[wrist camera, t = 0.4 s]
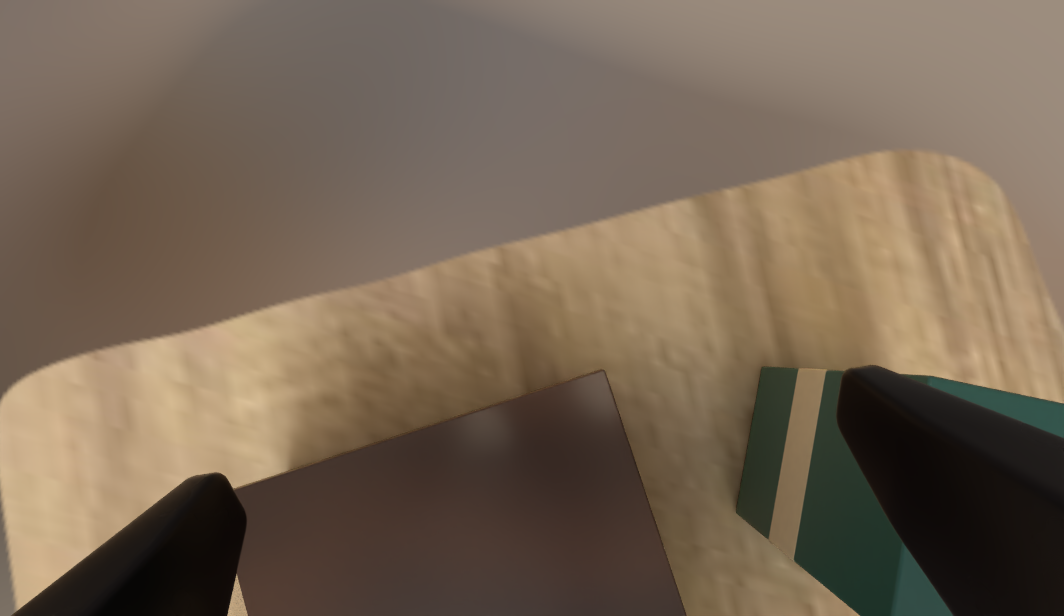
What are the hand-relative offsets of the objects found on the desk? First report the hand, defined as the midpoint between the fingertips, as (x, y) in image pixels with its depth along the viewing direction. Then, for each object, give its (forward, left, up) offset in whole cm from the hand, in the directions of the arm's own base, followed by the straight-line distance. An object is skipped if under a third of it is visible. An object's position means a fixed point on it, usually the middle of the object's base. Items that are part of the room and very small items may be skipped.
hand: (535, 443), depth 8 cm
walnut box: (-5, +7, -15) cm, 17 cm away
